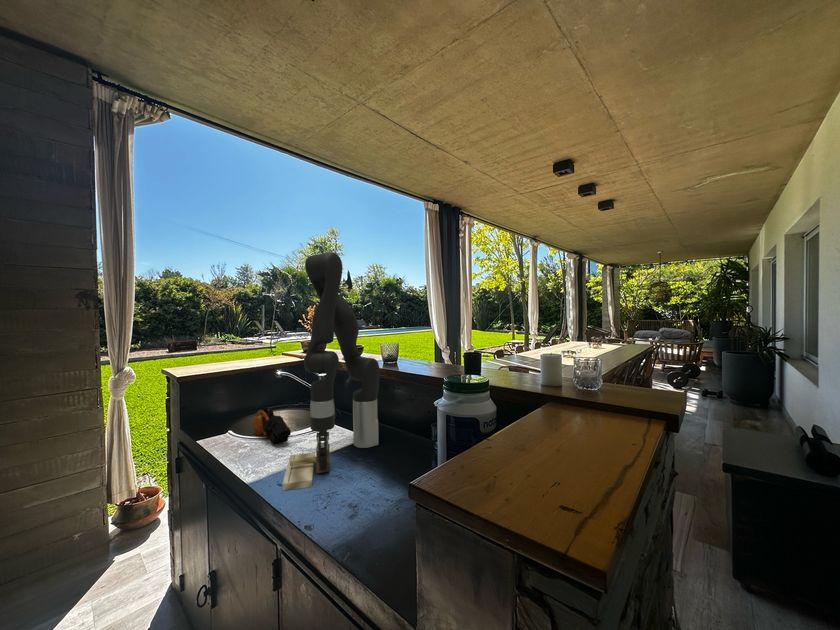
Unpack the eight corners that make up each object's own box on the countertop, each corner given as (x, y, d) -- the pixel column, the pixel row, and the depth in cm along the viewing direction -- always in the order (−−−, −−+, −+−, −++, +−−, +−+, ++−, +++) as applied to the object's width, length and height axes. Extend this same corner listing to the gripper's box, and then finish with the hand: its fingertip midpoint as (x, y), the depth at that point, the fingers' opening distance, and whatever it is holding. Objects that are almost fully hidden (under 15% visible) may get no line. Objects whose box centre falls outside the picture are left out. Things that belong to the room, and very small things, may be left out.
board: (314, 458, 120) (314, 452, 119) (311, 486, 100) (311, 479, 100) (290, 460, 117) (290, 454, 117) (282, 490, 98) (282, 483, 98)
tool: (269, 466, 129) (275, 433, 125) (248, 430, 144) (252, 399, 139) (290, 459, 135) (296, 427, 131) (267, 425, 149) (272, 395, 145)
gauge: (329, 464, 113) (329, 441, 113) (329, 471, 108) (329, 447, 108) (291, 469, 110) (290, 445, 110) (289, 476, 105) (289, 451, 105)
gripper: (334, 419, 104) (335, 474, 104) (334, 406, 118) (334, 455, 118) (309, 421, 102) (309, 478, 102) (311, 407, 116) (312, 457, 116)
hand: (323, 465), depth 110 cm, fingers closed on gauge, 5 cm apart
